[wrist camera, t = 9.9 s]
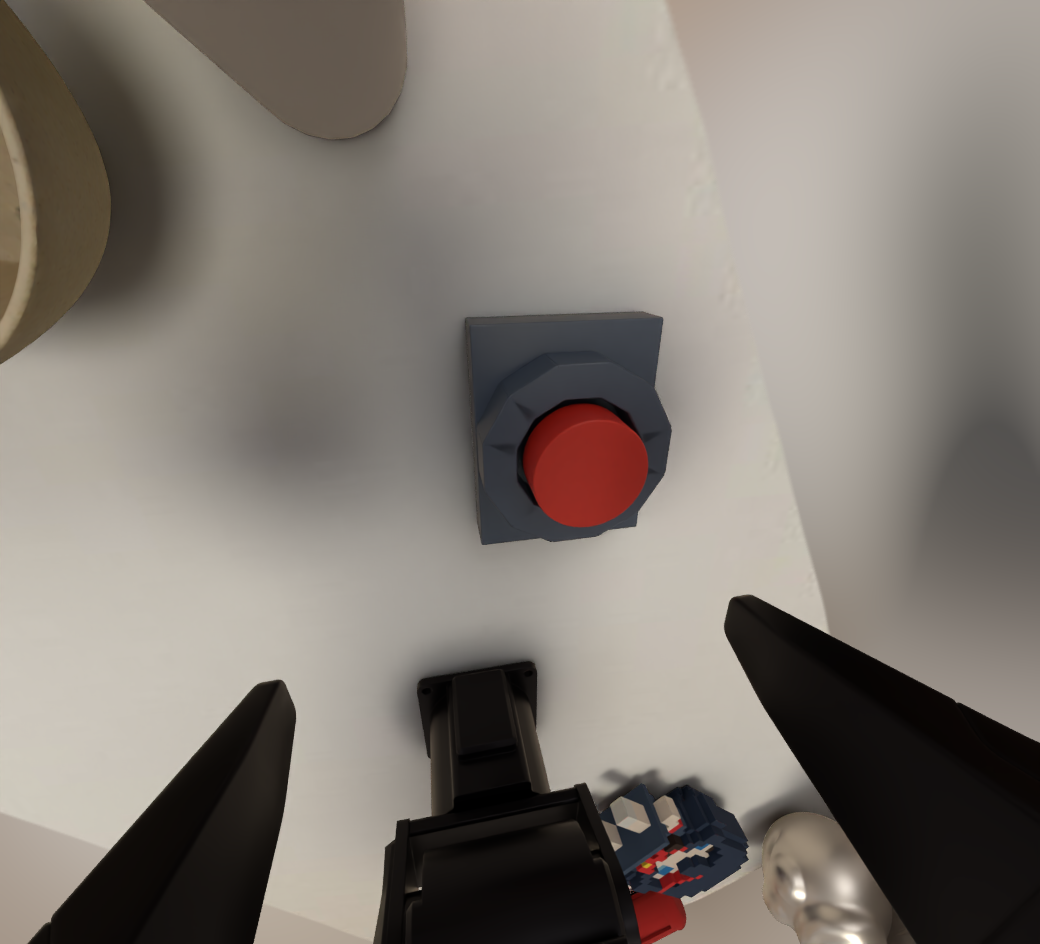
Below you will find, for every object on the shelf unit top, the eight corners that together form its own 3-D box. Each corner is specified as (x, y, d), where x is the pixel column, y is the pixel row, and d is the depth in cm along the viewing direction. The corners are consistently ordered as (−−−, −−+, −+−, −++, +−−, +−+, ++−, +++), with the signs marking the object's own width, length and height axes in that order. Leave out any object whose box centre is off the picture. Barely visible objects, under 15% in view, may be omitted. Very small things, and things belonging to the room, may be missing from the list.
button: (622, 497, 18) (641, 521, 16) (522, 508, 17) (532, 534, 15) (633, 398, 16) (656, 415, 14) (522, 406, 15) (533, 424, 14)
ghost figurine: (796, 778, 37) (910, 941, 29) (844, 801, 41) (958, 951, 33) (715, 837, 39) (799, 1006, 31) (769, 854, 43) (856, 1008, 35)
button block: (622, 507, 22) (655, 550, 19) (477, 523, 20) (487, 572, 17) (643, 311, 18) (690, 325, 15) (465, 317, 16) (475, 334, 13)
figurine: (667, 815, 27) (776, 861, 34) (638, 747, 31) (741, 800, 38) (565, 888, 29) (687, 918, 36) (549, 816, 33) (662, 855, 39)
